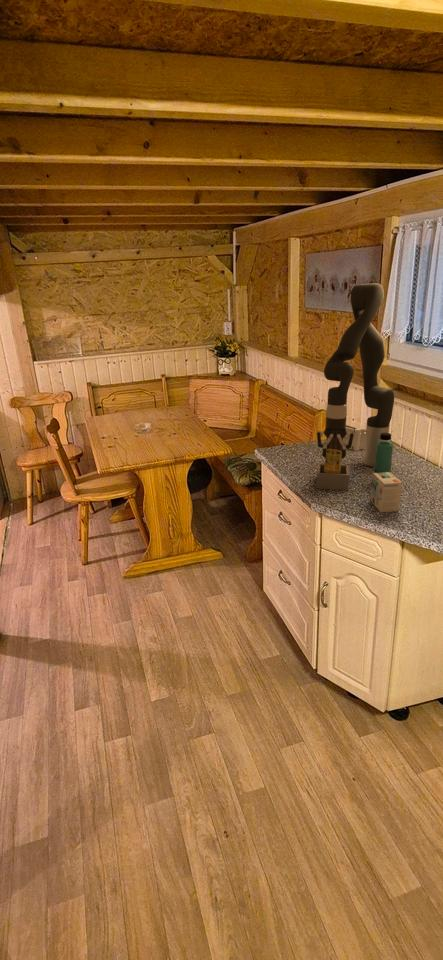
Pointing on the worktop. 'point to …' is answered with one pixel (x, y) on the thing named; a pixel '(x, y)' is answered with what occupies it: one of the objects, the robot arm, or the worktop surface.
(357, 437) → the hinge
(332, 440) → the sauce bottle
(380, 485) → the light bulb box
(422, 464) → the worktop surface
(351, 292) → the robot arm
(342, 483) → the bottle holder
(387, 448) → the beverage bottle
